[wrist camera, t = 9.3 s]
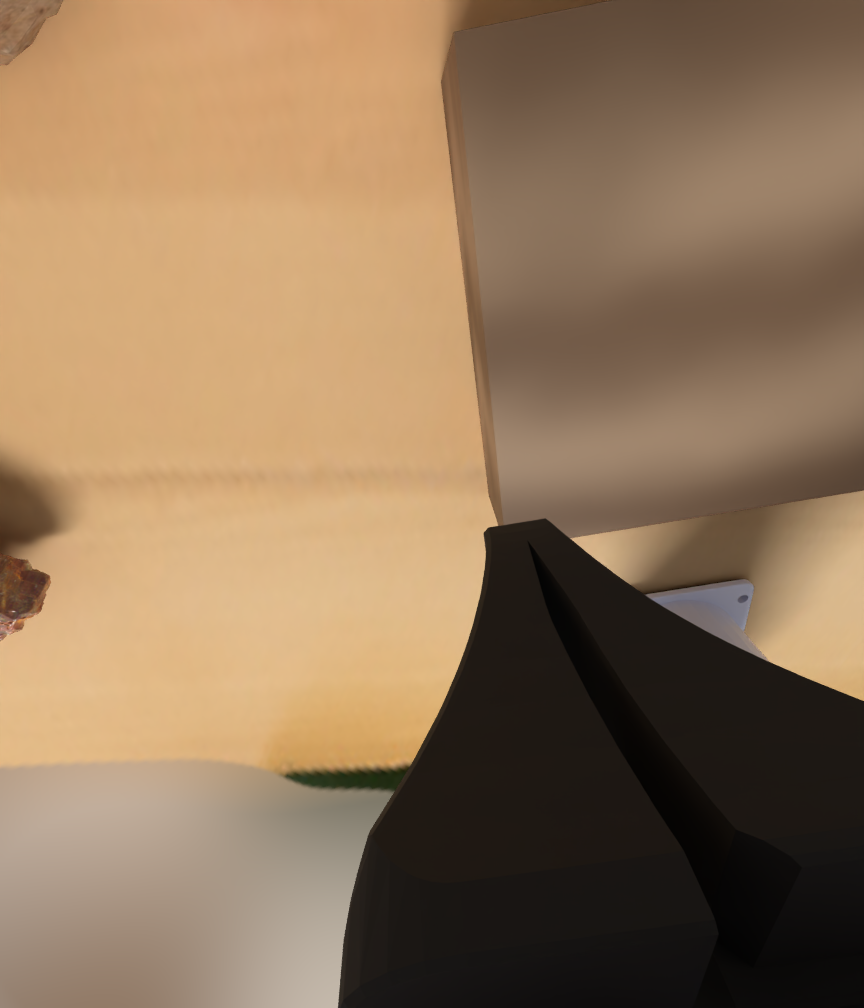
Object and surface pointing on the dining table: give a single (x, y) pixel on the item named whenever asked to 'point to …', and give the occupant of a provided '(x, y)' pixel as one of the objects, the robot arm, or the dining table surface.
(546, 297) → the walnut board
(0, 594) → the mineral specimen
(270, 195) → the dining table surface
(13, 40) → the brown hollow boot figurine
